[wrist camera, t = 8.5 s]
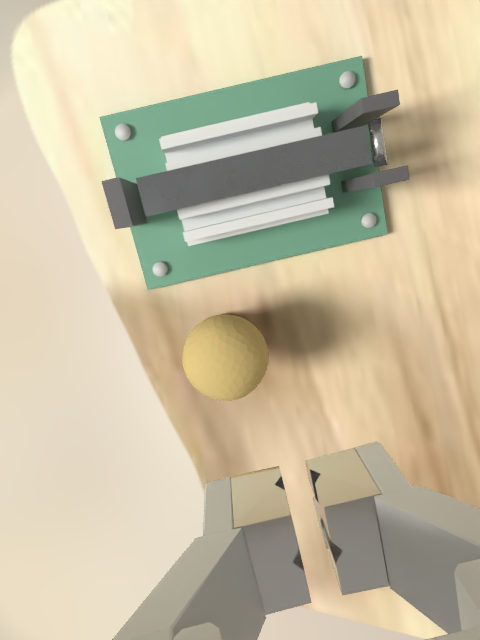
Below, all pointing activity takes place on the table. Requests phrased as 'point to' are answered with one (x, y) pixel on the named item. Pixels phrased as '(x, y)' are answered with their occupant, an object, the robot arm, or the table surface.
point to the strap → (262, 169)
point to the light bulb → (225, 357)
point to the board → (226, 110)
